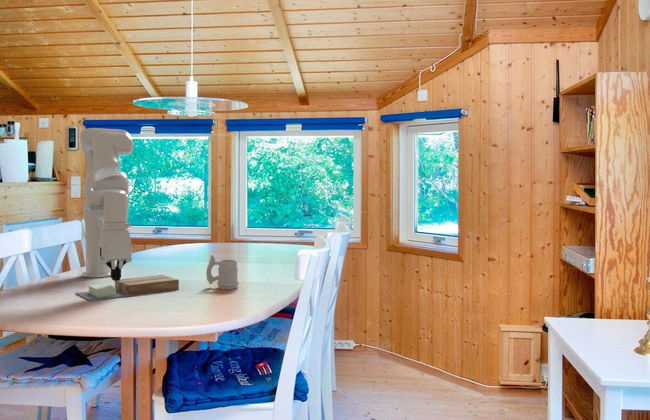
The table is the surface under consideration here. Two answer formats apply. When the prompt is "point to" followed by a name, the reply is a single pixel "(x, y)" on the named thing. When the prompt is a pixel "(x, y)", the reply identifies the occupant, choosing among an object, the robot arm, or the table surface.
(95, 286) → the tile
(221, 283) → the mug
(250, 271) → the table surface
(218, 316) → the table surface
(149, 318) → the table surface
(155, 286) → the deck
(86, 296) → the mat
